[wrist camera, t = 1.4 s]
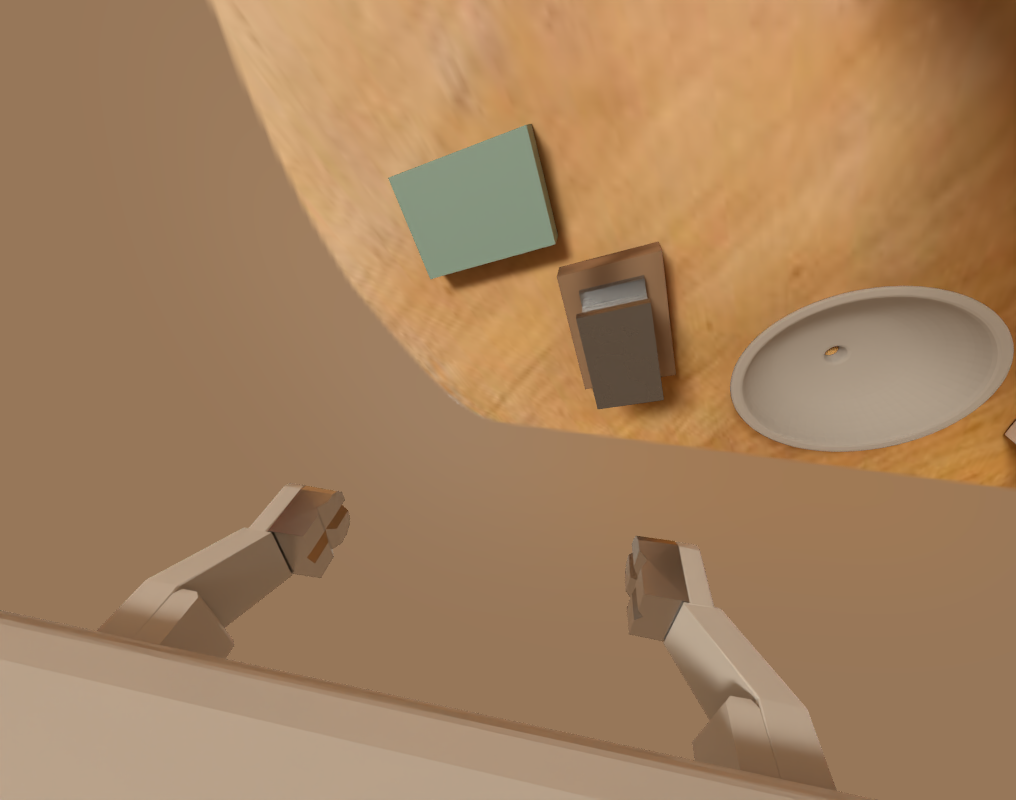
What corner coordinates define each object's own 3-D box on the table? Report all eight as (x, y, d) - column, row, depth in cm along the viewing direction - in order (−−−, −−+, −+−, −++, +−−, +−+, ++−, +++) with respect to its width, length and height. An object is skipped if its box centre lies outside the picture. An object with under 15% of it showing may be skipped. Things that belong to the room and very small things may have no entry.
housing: (643, 275, 32) (650, 302, 27) (655, 363, 36) (663, 400, 31) (579, 290, 33) (575, 318, 29) (598, 373, 37) (597, 409, 33)
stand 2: (658, 241, 32) (662, 250, 30) (671, 360, 38) (675, 374, 36) (559, 267, 35) (556, 277, 33) (586, 375, 40) (585, 389, 38)
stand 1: (531, 123, 29) (526, 124, 27) (558, 236, 33) (555, 244, 31) (401, 173, 33) (388, 178, 31) (439, 269, 37) (430, 279, 35)
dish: (701, 410, 40) (712, 443, 36) (739, 264, 32) (759, 286, 28) (908, 422, 37) (945, 460, 33) (1009, 262, 29) (1075, 287, 25)
